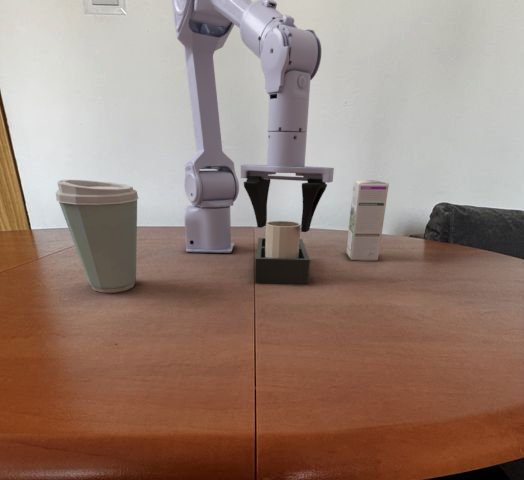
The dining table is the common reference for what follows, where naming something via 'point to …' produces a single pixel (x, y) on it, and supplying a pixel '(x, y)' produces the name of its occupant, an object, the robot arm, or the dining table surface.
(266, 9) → the robot arm
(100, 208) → the disposable coffee cup
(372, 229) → the syrup box
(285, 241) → the paper cup
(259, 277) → the cup holder
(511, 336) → the dining table surface
